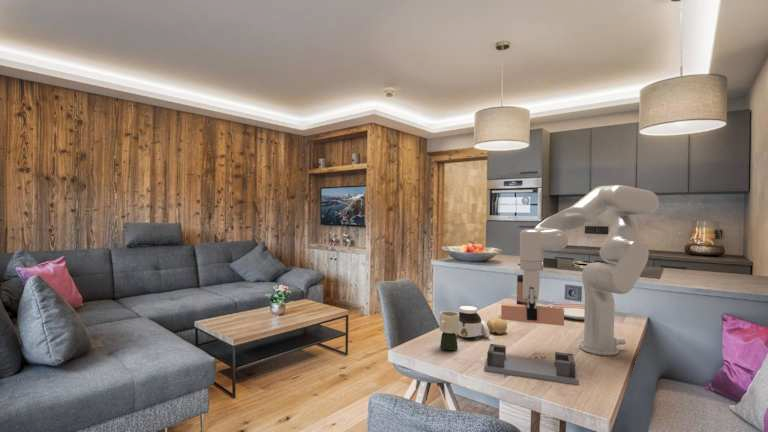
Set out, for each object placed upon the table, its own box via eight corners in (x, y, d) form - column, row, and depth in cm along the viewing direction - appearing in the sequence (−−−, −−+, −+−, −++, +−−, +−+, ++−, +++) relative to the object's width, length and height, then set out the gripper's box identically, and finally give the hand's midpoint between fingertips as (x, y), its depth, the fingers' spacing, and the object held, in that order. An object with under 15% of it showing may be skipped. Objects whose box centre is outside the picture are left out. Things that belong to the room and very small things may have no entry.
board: (484, 370, 124) (484, 366, 124) (487, 358, 134) (488, 354, 134) (578, 384, 114) (578, 379, 114) (574, 370, 125) (574, 365, 125)
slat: (501, 319, 138) (501, 305, 138) (501, 316, 142) (502, 302, 141) (563, 325, 131) (564, 310, 131) (563, 322, 134) (563, 308, 134)
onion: (499, 337, 157) (499, 319, 157) (482, 332, 163) (483, 315, 163) (510, 333, 162) (511, 316, 162) (494, 328, 168) (494, 312, 168)
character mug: (447, 343, 149) (448, 308, 149) (464, 347, 145) (465, 312, 145) (432, 351, 141) (432, 314, 141) (450, 355, 136) (450, 318, 136)
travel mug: (535, 318, 184) (536, 275, 184) (531, 322, 178) (532, 278, 178) (518, 316, 188) (519, 274, 188) (514, 319, 182) (515, 276, 182)
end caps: (487, 365, 124) (487, 352, 124) (490, 355, 133) (490, 343, 133) (575, 378, 116) (575, 364, 116) (572, 366, 124) (572, 354, 124)
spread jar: (451, 335, 158) (452, 306, 158) (470, 330, 165) (470, 302, 165) (475, 344, 149) (475, 313, 149) (494, 338, 156) (494, 308, 155)
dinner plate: (548, 320, 183) (548, 313, 183) (543, 306, 209) (543, 300, 209) (615, 326, 175) (615, 318, 175) (601, 310, 201) (601, 304, 201)
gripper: (520, 261, 145) (521, 311, 145) (519, 268, 129) (519, 324, 130) (542, 262, 142) (543, 313, 143) (544, 269, 127) (544, 326, 127)
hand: (531, 317), depth 136 cm, fingers closed on slat, 3 cm apart
